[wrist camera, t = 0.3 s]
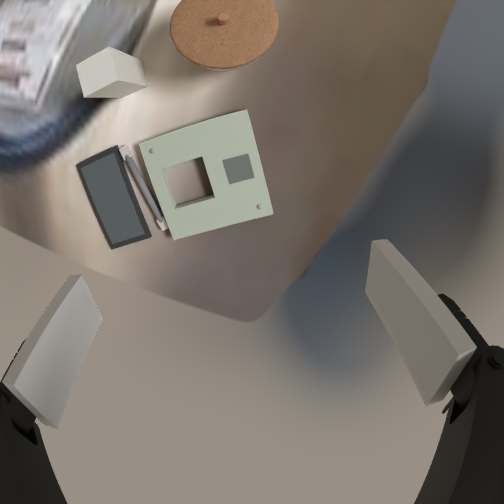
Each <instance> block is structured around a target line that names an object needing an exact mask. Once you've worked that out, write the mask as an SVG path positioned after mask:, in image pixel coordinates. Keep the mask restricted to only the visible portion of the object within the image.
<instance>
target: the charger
mask: <svg viewBox="0 0 504 504" xmlns="http://www.w3.org/2000/svg"><path fill="white" fill-rule="evenodd" d="M76 67H77V71H78V75H79V79H80V84H81V88H82V91H83V95H84V98H122V97H124V96H127V95H129V94H131V93H133V92H136V91H138V90H140V89H143V88H145V87H148V84H147V80H146V77H145V73H144V70H143V66H142V62H141V60H139V59H137V58H135V57H133V56H130V55H128V54H126V53H123V52H121V51H119V50H116V49H114V48H111V47H108V48H106V49H104V50H102V51H100V52H98V53H96V54H95V55H93V56H91V57H89V58H87V59H86V60H84V61H82V62H81V63H79V64H77V65H76Z"/></svg>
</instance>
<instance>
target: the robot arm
mask: <svg viewBox="0 0 504 504" xmlns="http://www.w3.org/2000/svg"><path fill="white" fill-rule="evenodd" d="M365 293H366V294H367V296H368V298H369V299H370V301H371V303H372V304H373V306H374V308H375V310H376V312H377V313H378V315H379V317H380V319H381V320H382V322H383V324H384V325H385V327H386V329H387V331H388V333H389V335H390V336H391V338H392V340H393V342H394V344H395V346H396V347H397V349H398V351H399V353H400V355H401V357H402V359H403V361H404V363H405V365H406V367H407V369H408V370H409V372H410V374H411V376H412V378H413V380H414V383H415V385H416V387H417V389H418V391H419V393H420V395H421V397H422V399H423V401H424V403H425V406H426V407H427V406H429V405H431V404H434V403H436V402H439V401H441V400H443V399H444V398H445V396H446V395H447V393H448V392H449V391H450V390H451V392H452V394H453V397H452V399H451V400H450V401H449V403H448V404H447V405H446V406H445V408H444V409H443V411H442V413H443V414H444V413H445V412H446V411H447V410H448V413H447V417H446V421H445V425H444V428H443V431H442V434H441V438H440V441H439V444H438V447H437V450H436V453H435V456H434V458H433V461H432V464H431V466H430V469H429V472H428V474H427V476H426V479H425V481H424V483H423V486H422V488H421V490H420V492H419V494H418V497H417V499H416V501H415V503H414V504H504V349H503V348H501V347H499V346H489V345H488V344H487V343H486V341H485V340H484V339H483V337H482V336H481V335H480V334H479V332H478V331H477V329H476V328H475V327H474V325H473V324H472V323H471V322H470V320H469V319H467V317H466V315H465V314H464V313H463V312H461V309H460V308H459V307H458V306H457V304H456V303H455V302H454V301H453V300H452V299H450V298H449V297H447V296H446V295H444V294H439V295H437V294H436V293H435V292H434V291H433V290H432V288H431V287H430V286H429V285H428V284H427V282H426V281H425V280H424V279H423V278H422V277H421V276H420V274H419V273H418V272H417V271H416V270H415V269H414V268H413V267H412V266H411V264H410V263H409V262H408V261H407V260H406V259H405V258H404V257H403V256H402V254H401V253H399V251H398V250H397V249H396V248H395V247H394V246H393V245H392V244H391V243H390V242H389V241H388V240H387V239H384V240H376V241H372V244H371V253H370V262H369V269H368V277H367V283H366V290H365ZM102 320H103V318H102V316H101V314H100V312H99V310H98V308H97V306H96V304H95V302H94V300H93V298H92V296H91V294H90V292H89V289H88V287H87V285H86V282H85V280H84V278H83V276H82V274H80V275H71V276H70V277H69V278H68V279H67V281H66V282H65V283H64V285H63V286H62V287H61V289H60V290H59V291H58V293H57V294H56V295H55V297H54V298H53V300H52V301H51V302H50V304H49V305H48V307H47V308H46V310H45V311H44V313H43V314H42V315H41V317H40V319H39V320H38V322H37V323H36V325H35V326H34V328H33V329H32V331H31V333H30V334H29V336H28V337H27V339H26V340H25V341H23V343H22V344H21V346H20V348H19V349H18V353H16V355H15V356H14V360H12V362H11V363H10V365H9V367H8V369H7V371H6V372H5V374H4V376H3V378H2V380H1V382H0V504H67V502H66V500H65V497H64V495H63V493H62V491H61V489H60V486H59V484H58V481H57V479H56V477H55V475H54V472H53V469H52V467H51V464H50V461H49V458H48V455H47V452H46V449H45V446H44V443H43V440H42V436H41V433H40V429H39V427H38V425H37V424H36V423H35V422H34V421H35V419H36V417H37V418H38V419H39V420H40V421H41V422H42V423H43V424H44V425H46V426H50V427H53V428H56V429H58V427H59V424H60V421H61V418H62V415H63V412H64V409H65V407H66V404H67V401H68V399H69V396H70V393H71V390H72V388H73V386H74V383H75V381H76V378H77V375H78V373H79V371H80V368H81V366H82V364H83V361H84V359H85V357H86V354H87V352H88V350H89V348H90V345H91V343H92V341H93V339H94V337H95V335H96V333H97V330H98V328H99V326H100V324H101V322H102ZM448 408H449V409H448Z"/></svg>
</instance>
